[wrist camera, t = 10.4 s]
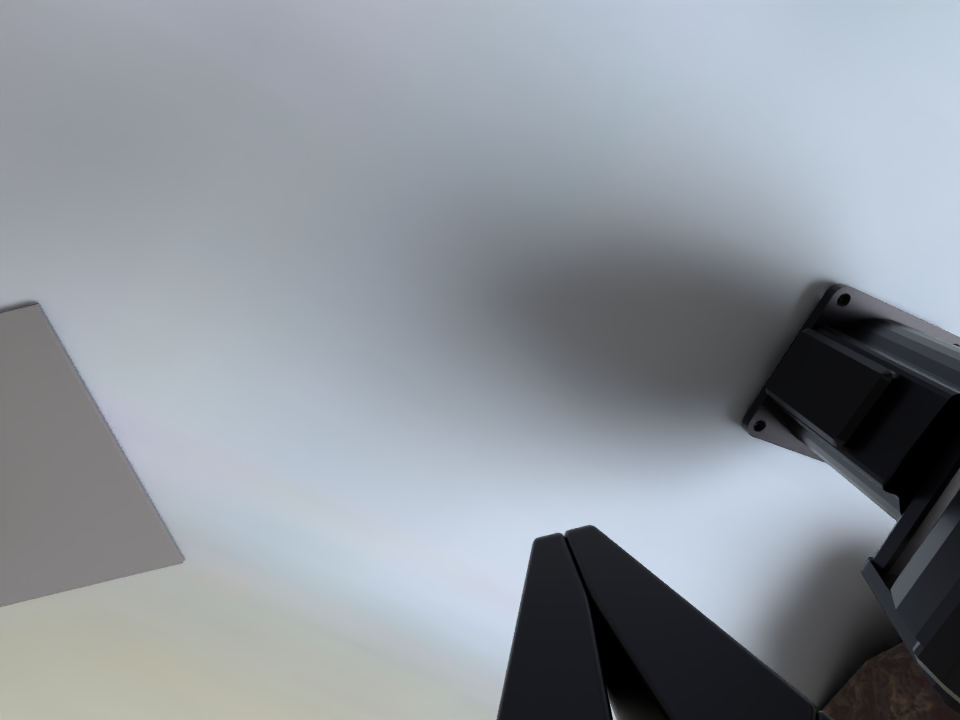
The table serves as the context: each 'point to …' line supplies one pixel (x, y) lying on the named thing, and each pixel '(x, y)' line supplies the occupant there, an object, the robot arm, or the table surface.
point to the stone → (889, 692)
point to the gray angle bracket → (64, 476)
